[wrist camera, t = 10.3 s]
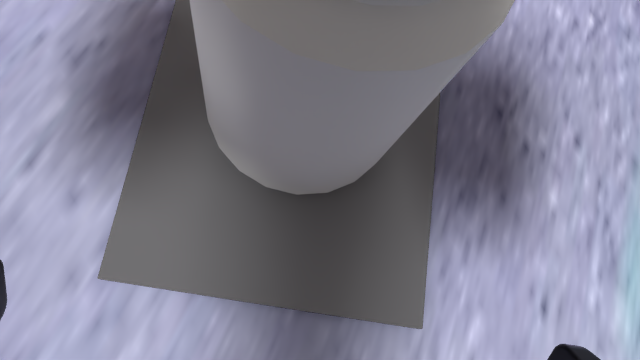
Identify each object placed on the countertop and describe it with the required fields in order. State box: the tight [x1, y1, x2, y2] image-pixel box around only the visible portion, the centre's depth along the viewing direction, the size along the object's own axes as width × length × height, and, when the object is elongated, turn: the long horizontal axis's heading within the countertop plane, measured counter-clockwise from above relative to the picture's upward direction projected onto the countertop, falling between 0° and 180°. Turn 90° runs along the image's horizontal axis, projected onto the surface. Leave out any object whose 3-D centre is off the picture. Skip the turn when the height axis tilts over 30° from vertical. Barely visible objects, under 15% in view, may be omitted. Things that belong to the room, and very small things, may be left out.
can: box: [190, 0, 515, 195], centre depth 14 cm, size 8×8×12 cm
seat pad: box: [98, 0, 440, 329], centre depth 20 cm, size 14×12×1 cm
